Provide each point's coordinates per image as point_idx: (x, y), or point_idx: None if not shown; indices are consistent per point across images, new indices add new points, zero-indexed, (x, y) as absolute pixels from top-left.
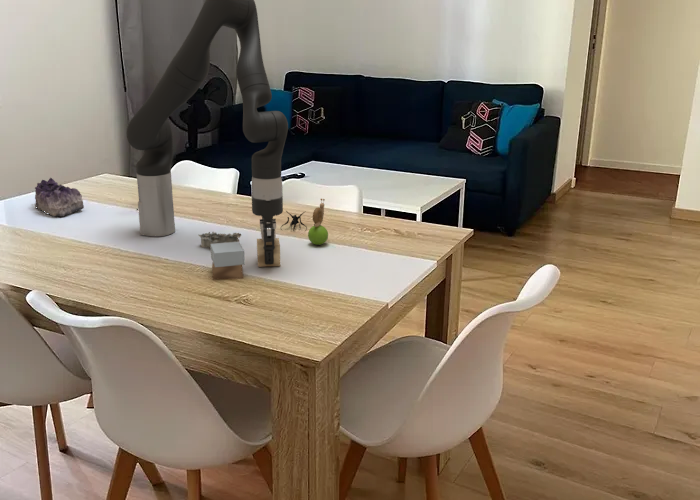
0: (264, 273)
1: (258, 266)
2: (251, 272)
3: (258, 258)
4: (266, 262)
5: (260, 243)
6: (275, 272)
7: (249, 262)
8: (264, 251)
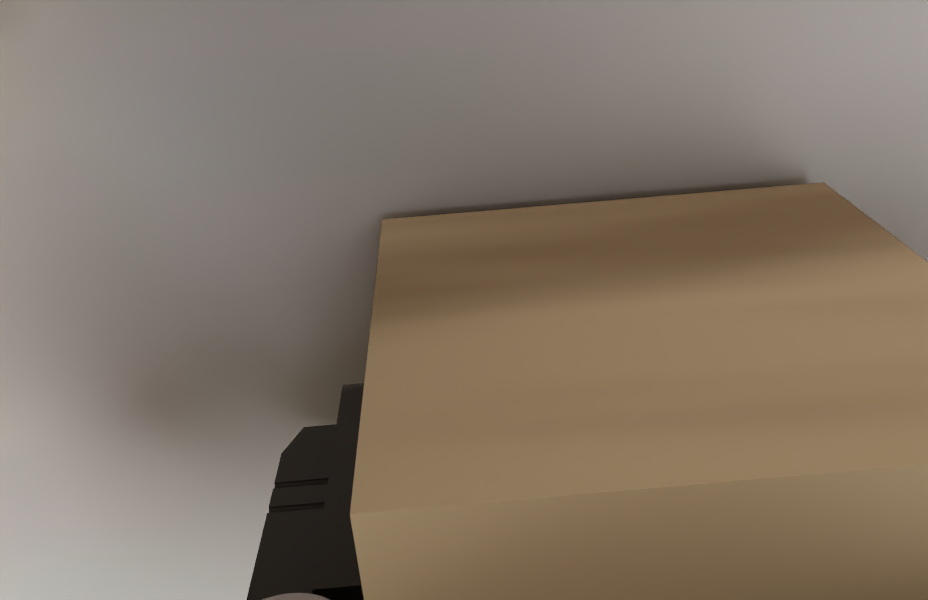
0: (87, 337)
1: (383, 229)
2: (109, 99)
3: (373, 310)
4: (304, 431)
5: (586, 582)
6: (159, 494)
7: (719, 18)
8: (325, 561)
